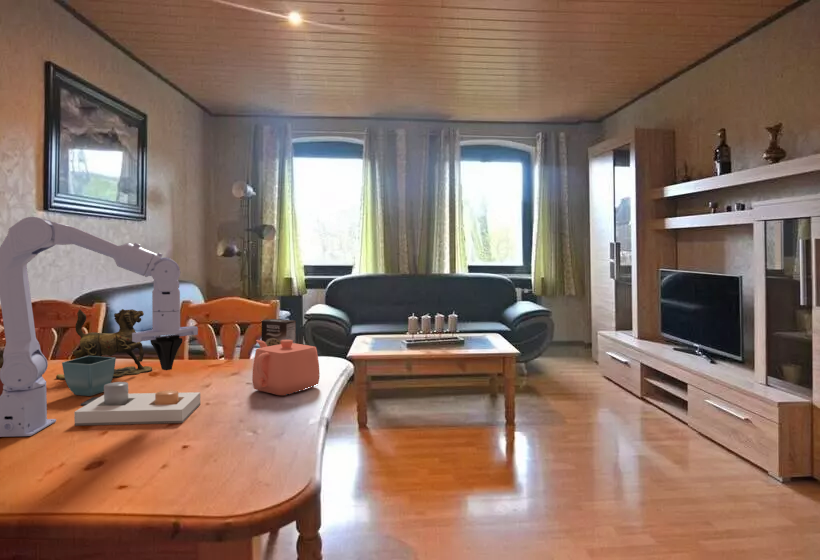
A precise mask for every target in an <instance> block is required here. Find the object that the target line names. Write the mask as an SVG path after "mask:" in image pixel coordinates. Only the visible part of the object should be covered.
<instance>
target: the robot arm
mask: <svg viewBox="0 0 820 560" xmlns="http://www.w3.org/2000/svg"><path fill="white" fill-rule="evenodd" d="M56 245H60V246H65V245H68V246H69V245H75V246H78V247H80V248H84V249H86V250H89V251H91V252H95V253H97V254H101V255H103V256H106V257H109V258H112V259H113V260H114V262H115V264H116V267H118V268H121V269H123V270H126V271H128V272H132V273H134V274H136V275H139V276H143V277H145V278H147V277H151V278H152V279H153V290H152V291H151V292H152V297H151V299H152V300H151V301H152V303H151V304H152V305H151V306H152V311H151V312H152V314H151V315H152V317H151V318H152V319H151V321H152V329H148V330H142V331H137V332H136V333H132V342H136V343H137V342H141V343H142V342H147V341H150V344H151V346H152V347H153V349H154V350H155V351H154V352H155V353H156V356H157V357H158V360H159V363H160V366H161V370H163V371H170V370H173V365H174V361H175V358H176V354H178V353H177V352H178V351H179V349H180V347H181V345H182V344H183V338H182V337H185V336H198V333H199V328H198V326H195V325H193V326H181V291H180V281H179V278H180V276H181V273H182V272H181V270H180V265H179V264H178V262H176V261H175V260H174V259H172V258H170V257H163V255H164V254H163V253H161V252H157V253H156V252H153V251H151V250H149V249H146V248H143V247H141V246H142V244H140V243H137V242H134V243H130V242H127V243H123V244H119V245H118V244H117V243H114V242H112V241H110V240H107V239H105V238H102V237H99V236H98V235H96V234H93V233H90V232H88V231H85V230H83V229H81V228H79V227H76V226H72V225H67V224H63V223H59V222H55V221H52V220H49V219H45V218H42V217H41V218H40V217H38V216H28V217H25V218H22V219H21V220H19V221H17V222H16V223H14V224H13V225H12V226H10V227H9V228H8V232H7V234H6V236H5V238H4V239H3V241H2V243H1V245H0V308H1V315H2V323H3V328H4V329H3V330H4V338H5V342H6V343H5V346H4V350H3V354H2V357H3V358H2V359H3V362H2V365H1V366H2V367H1V368H0V381H1V384H3V385H2V389H3V390H2V393H1V394H0V438H2V437H4V438H5V437H31V436H33V435H36V434H37V433H38V432H40V431H42V430H44V429H45V428H47V427H48V426H50V425H52V424H54V423H56V422H57V418H48V412H47V411H48V408H47V407H48V406H47V381H46V380H45V378H44V377H43V375H44V374H45V373H46V371H47V369H48V365H49V363H48V359H47V357H45V355H44V354H43V352H42V350H41V345H40V342H39V340H38V339H37V334H36V328H35V319H34V312H33V304H32V299H31V298H32V297H31V290H30V282H29V274H28V273H29V272H28V264H29V262H31V261H32V260H33V259H34V258H36V257H37V256H38V255H39V254H40V253H42V252H44V251H46V250H48V249H51V248H53V247H54V246H56Z"/></svg>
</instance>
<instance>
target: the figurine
mask: <svg viewBox="0 0 820 560" xmlns="http://www.w3.org/2000/svg"><path fill="white" fill-rule="evenodd" d="M144 313H145V312H144V311H143V310H135V309H123V308H122V309H120V310H119V312H117V313H114V314H113V315H114V320H115V322H116V324H117V325H118V327H119V329H118V331H117V332H116V331H115V332H113V333H102V332H97V331H96V332H93V331H92V332H87V333H84V332H83V329H82V328H83V326H84V324H85V322H86V321H87V314H86V313H84V311H82V309H80V308H79V309H78V311H77V313H76V315H77V319H76V323H75V333H76V334H77V335H78V336H79V337H80V340H79V346H80V349H79V350H73V351H72V354H73V355H74V357H75V359H78V358H82V357H86V356H99V357H103V356H108V357H112V356H114V355H115V354H116V353H117V354H122V353H123V354H127V355H128V356H129V357H131V359H133V361H134V364H135V365H137V368H136V366H133V365H131V366H130V365H129V366H125V367H122V368H116V369H114V375H113V379H117V378H121V377H123V376H135V375H139V374H143V373H144V374H146V373H149V372H152V371H153V367H152V366H146V365H145V366H144V365H142V363H141V362H143V360H144V357H145V356H144V354H145V351H144V348H143V343H142V341H141V342H132V333H136V329H135V328H134V326H135V325H136V324H137V323H138V324H139V323H141V321H142V317H143V316H144ZM135 349H138V351H139V352H138V355H139V356H138V358H137V356H136V354H135V353H134V350H135ZM55 378H56V380H61V381H62V380H63V381H65V377H64V374H59V373H58V374H56V375H55Z"/></svg>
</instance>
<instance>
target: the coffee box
mask: <svg viewBox="0 0 820 560" xmlns="http://www.w3.org/2000/svg"><path fill="white" fill-rule="evenodd" d="M296 327H297V325H296V320H293V319H292V320H290V319H280V318H279V319H277V318H270V319H264V320H261V340H262V341H264V342H265V343H266V345H267V346H273V345H279V344H281V342H280V341H281V340H293V343H296V331H297V330H296Z"/></svg>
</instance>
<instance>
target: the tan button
mask: <svg viewBox="0 0 820 560" xmlns="http://www.w3.org/2000/svg"><path fill="white" fill-rule="evenodd" d="M155 393H156V394H155V405H172V404H177V403H178V393H179V391H178V390H162V391H159V392H155Z"/></svg>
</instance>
